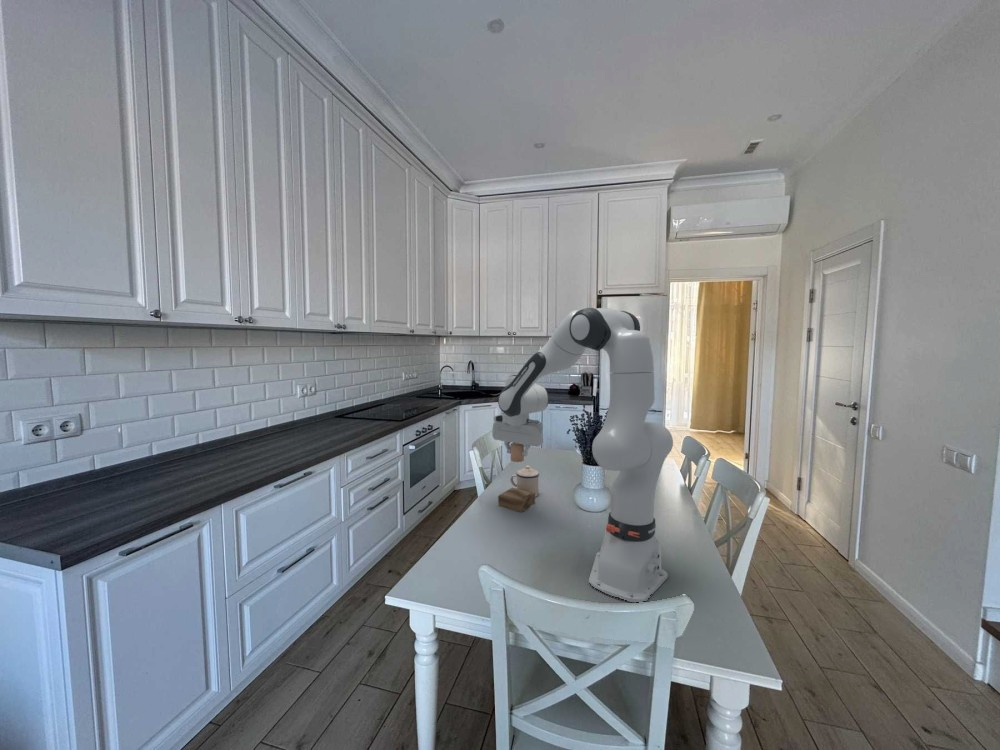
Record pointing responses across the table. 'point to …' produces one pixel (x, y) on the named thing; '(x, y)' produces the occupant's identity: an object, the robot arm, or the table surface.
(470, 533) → the table surface
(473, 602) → the table surface
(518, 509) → the base
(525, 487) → the teacup with lid
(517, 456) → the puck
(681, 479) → the table surface
